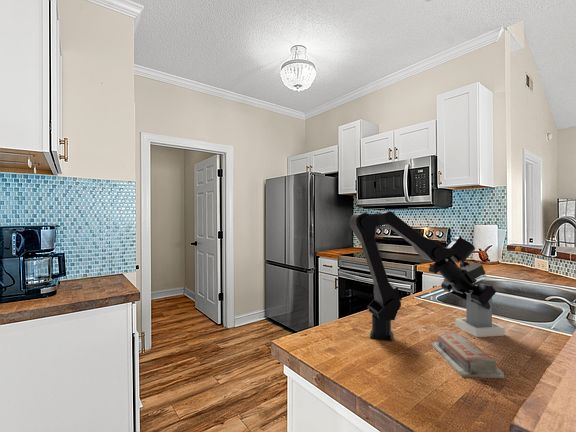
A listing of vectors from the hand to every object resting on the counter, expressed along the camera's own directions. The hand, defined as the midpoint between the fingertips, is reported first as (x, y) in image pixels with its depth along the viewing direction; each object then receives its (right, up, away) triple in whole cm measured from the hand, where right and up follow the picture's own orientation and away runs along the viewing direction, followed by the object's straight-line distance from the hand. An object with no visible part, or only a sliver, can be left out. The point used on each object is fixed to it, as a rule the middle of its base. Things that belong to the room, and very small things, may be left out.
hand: (482, 305), depth 99 cm
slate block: (-1, -7, 0) cm, 7 cm away
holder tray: (-1, -8, 0) cm, 8 cm away
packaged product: (-18, -9, -20) cm, 28 cm away
